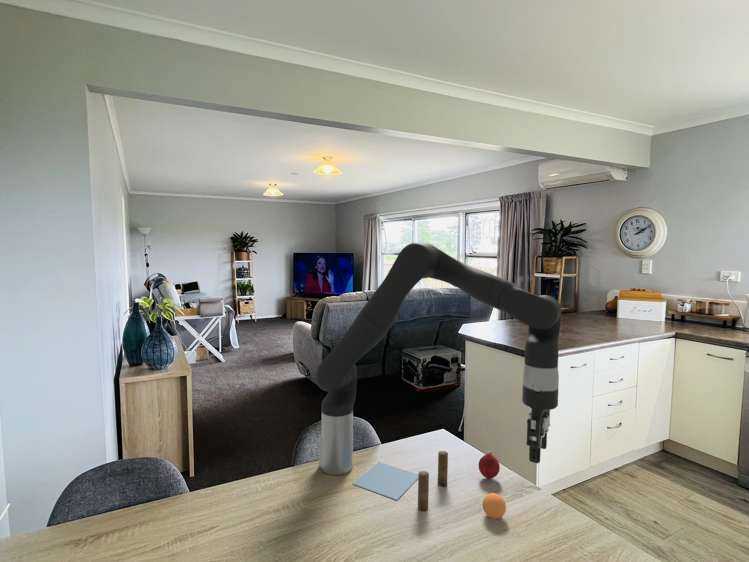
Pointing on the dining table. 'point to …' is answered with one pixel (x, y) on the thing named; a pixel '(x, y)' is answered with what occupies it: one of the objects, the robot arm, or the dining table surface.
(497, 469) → the onion
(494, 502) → the ball
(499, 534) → the dining table surface
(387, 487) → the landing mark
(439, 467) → the post
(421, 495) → the post
